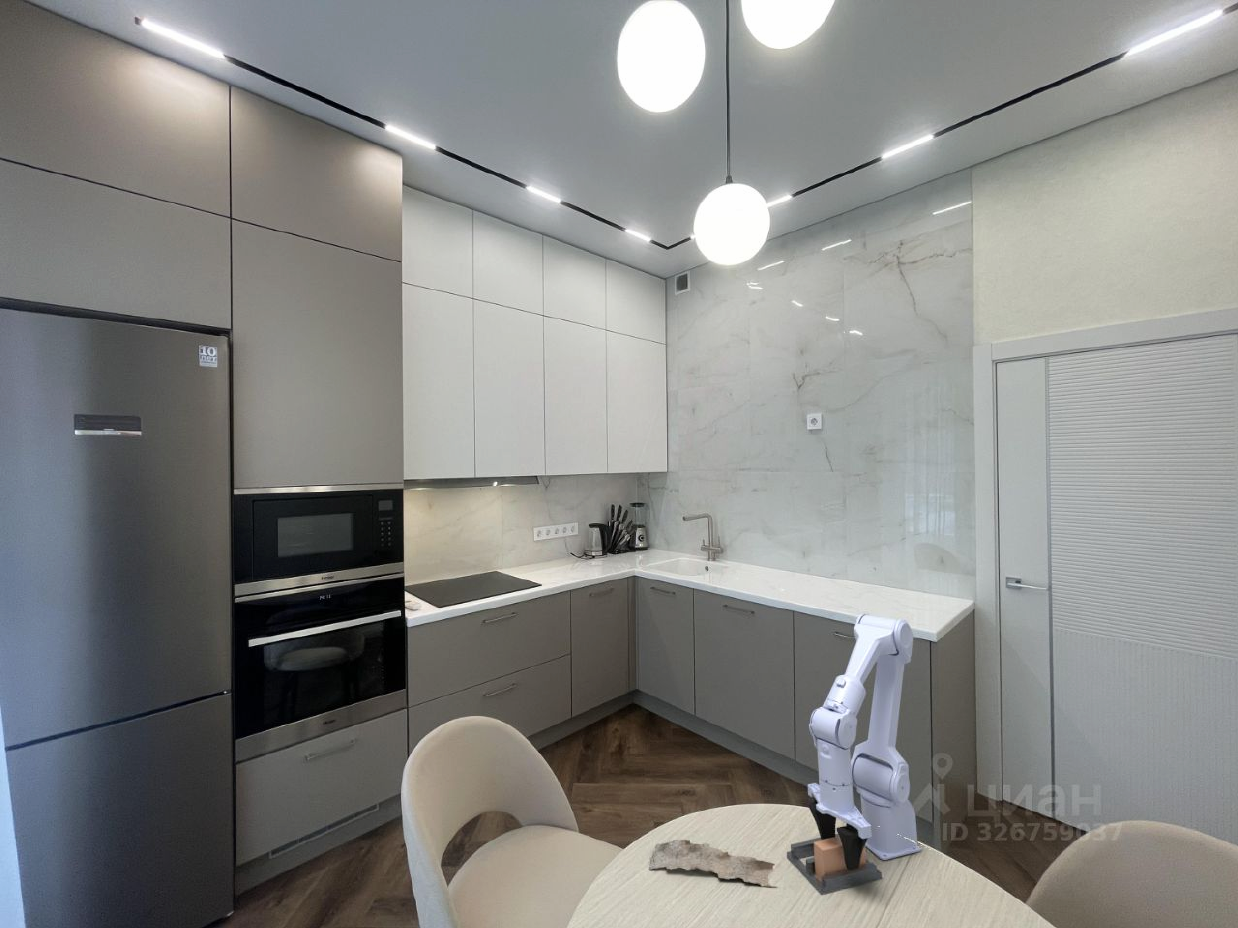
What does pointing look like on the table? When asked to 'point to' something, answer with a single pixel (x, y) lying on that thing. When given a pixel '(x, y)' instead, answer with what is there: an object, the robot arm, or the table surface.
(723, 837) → the table surface
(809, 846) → the drying rack
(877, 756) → the robot arm
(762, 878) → the stone fragment
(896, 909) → the table surface
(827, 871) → the terracotta strip
